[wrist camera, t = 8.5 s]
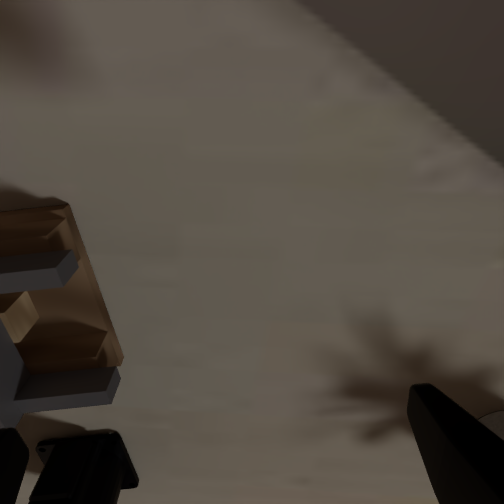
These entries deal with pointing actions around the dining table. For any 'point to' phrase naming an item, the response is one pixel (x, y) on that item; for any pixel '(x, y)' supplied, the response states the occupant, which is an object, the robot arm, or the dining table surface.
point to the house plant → (494, 422)
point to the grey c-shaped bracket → (14, 369)
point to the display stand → (56, 299)
